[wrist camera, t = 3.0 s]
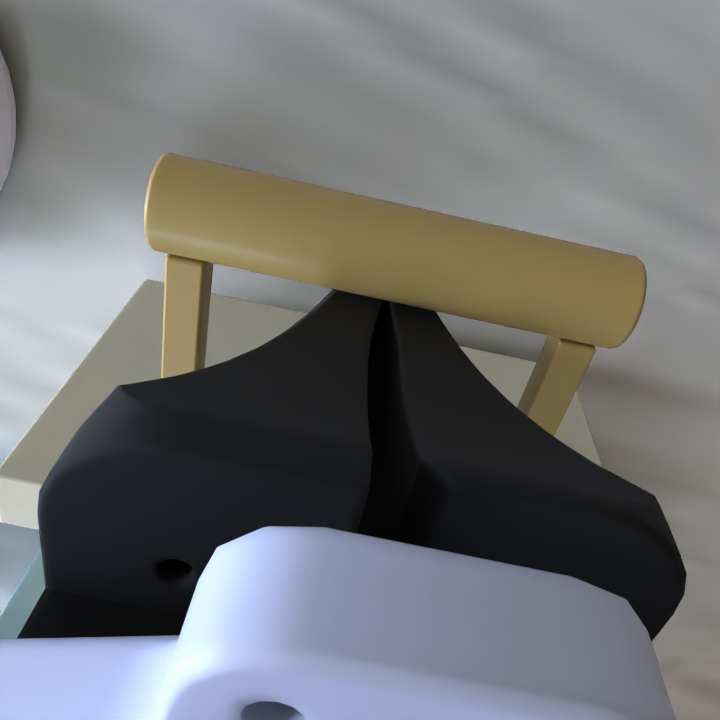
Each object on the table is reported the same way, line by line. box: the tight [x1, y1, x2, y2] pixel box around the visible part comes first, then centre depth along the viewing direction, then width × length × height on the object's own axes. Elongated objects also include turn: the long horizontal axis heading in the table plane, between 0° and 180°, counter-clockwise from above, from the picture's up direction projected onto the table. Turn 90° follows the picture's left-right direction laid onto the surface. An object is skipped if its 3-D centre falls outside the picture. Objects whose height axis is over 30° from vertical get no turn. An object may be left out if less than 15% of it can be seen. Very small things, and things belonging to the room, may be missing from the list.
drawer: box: [0, 153, 647, 530], centre depth 17 cm, size 21×11×7 cm, turn 169°
